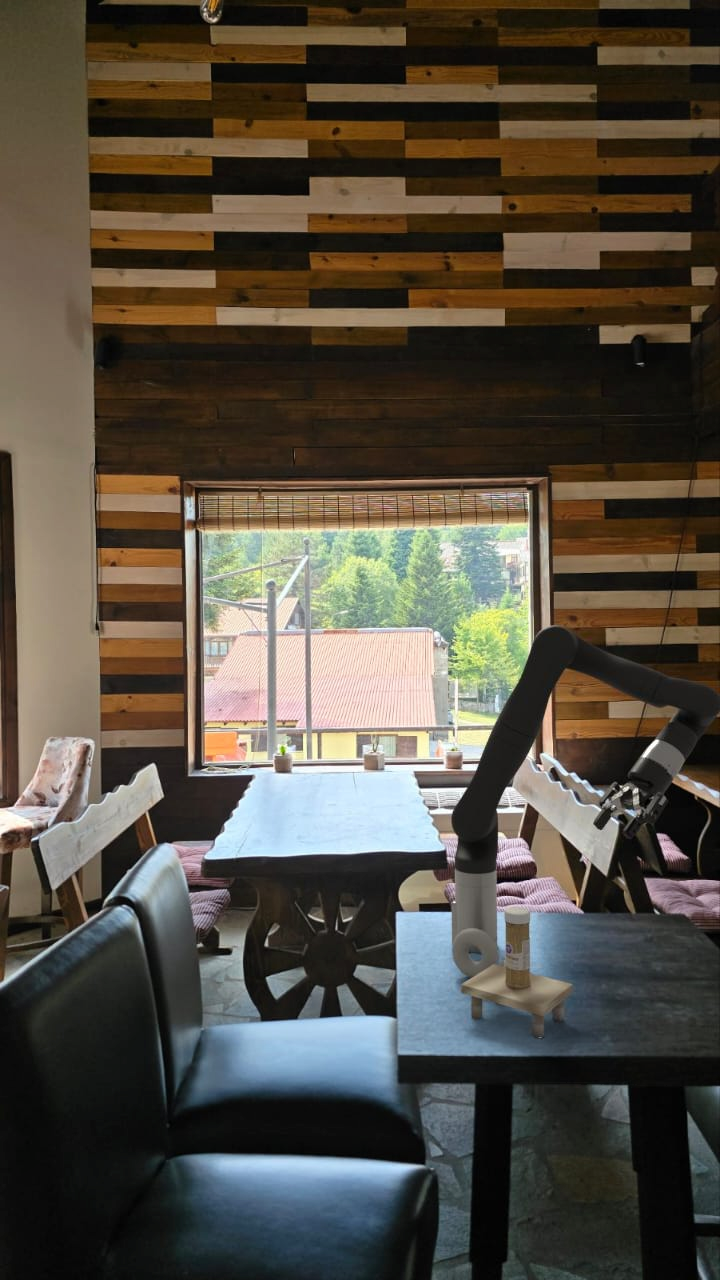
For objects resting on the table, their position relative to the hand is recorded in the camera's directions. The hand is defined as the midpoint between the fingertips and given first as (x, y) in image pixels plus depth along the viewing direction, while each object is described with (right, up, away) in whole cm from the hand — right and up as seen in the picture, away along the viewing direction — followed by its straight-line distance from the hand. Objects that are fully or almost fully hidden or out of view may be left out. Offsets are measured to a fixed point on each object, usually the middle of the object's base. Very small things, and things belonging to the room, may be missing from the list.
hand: (611, 831), depth 161 cm
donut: (-25, -31, +6) cm, 41 cm away
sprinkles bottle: (-20, -25, -12) cm, 34 cm away
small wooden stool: (-20, -31, -12) cm, 39 cm away
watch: (-18, -31, +8) cm, 37 cm away
